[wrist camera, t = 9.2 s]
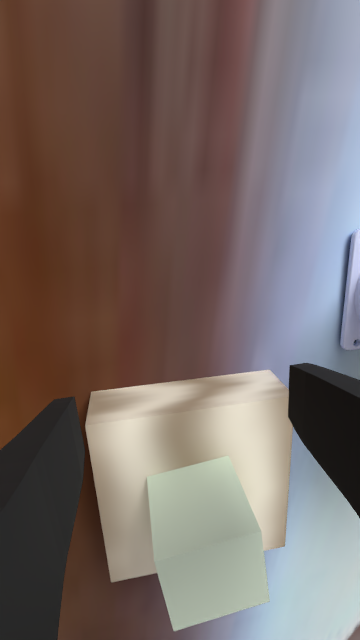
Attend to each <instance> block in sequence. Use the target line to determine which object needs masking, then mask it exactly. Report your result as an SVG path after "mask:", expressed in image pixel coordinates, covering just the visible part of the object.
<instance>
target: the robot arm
mask: <svg viewBox="0 0 360 640" xmlns="http://www.w3.org/2000/svg"><path fill="white" fill-rule="evenodd" d="M355 340H357V341H356V343H355V344H353V343H354V341H355ZM340 345H341V347H342V348H344V349H346V350H355V349H360V229H358V230H356V231H354V233H353V234H352V237H351V246H350V255H349V264H348V274H347V283H346V293H345V302H344V312H343V321H342V331H341V340H340ZM288 418H289V420H290V421H291V423H292V425H293V427H294V429H295V430H296V432H297V434H298V435H299V437H300V439H301V441H302V442H303V443H304V445H305V446H306V447H307V449H308V450H309V451H310V453H311V454H312V455H313V457H314V458H315V459H316V461H317V462H318V463H319V464H320V466H321V467H322V468H323V470H324V471H325V472H326V473H327V475H328V476H329V477H330V479H331V480H332V481H333V482H334V484H335V485H336V486H337V488H338V489H339V490H340V491H341V493H342V494H343V495H344V497H345V498H346V499H347V501H348V502H349V503H350V505H351V506H352V508H353V509H354V510H355V512H356V513H357V515H358V516H359V518H360V380H358V379H355V378H352V377H349V376H346V375H343V374H341V373H338V372H335V371H332V370H329V369H326V368H323V367H320V366H317V365H313V364H309V363H303V364H296V365H290V373H289V400H288ZM84 459H85V448H84V442H83V437H82V432H81V427H80V422H79V417H78V412H77V407H76V402H75V397H68V398H61V399H54V400H53V401H52V402H51V403H50V404H49V405H48V406H47V407H46V408H45V409H44V410H43V411H42V412H41V413H39V414H38V415H37V416H36V417H35V418H34V419H33V420H32V421H31V422H30V423H29V424H28V425H27V426H26V427H25V428H24V429H23V430H22V431H21V432H20V433H19V434H18V435H17V436H16V437H15V438H14V439H12V440H11V441H10V442H9V443H8V444H7V445H6V446H4V447H3V448H2V449H1V450H0V640H57V637H58V627H59V617H60V608H61V599H62V590H63V581H64V573H65V567H66V561H67V555H68V550H69V545H70V541H71V536H72V531H73V526H74V521H75V517H76V512H77V507H78V502H79V497H80V492H81V487H82V482H83V472H84Z"/></svg>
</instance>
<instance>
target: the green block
mask: <svg viewBox="0 0 360 640" xmlns="http://www.w3.org/2000/svg"><path fill="white" fill-rule="evenodd" d="M147 485H148V496H149V508H150V519H151V531H152V542H153V553H154V563H155V566H156V570H157V573H158V577H159V581H160V584H161V588H162V591H163V595H164V598H165V602H166V605H167V609H168V613H169V616H170V620H171V623H172V627H173V630H174V631H177V630H180V629H183V628H186V627H189V626H193V625H196V624H199V623H202V622H205V621H209V620H212V619H215V618H218V617H222V616H225V615H228V614H231V613H234V612H238V611H241V610H244V609H247V608H250V607H254V606H257V605H260V604H263V603H266V602H270V600H269V592H268V583H267V575H266V567H265V558H264V550H263V542H262V533H261V529H260V527H259V525H258V522H257V520H256V518H255V515H254V513H253V511H252V508H251V506H250V504H249V502H248V499H247V497H246V495H245V492H244V490H243V488H242V485H241V483H240V481H239V479H238V476H237V474H236V472H235V469H234V467H233V465H232V462H231V460H230V458H229V455H228V456H224V457H221V458H217V459H213V460H209V461H205V462H202V463H198V464H194V465H190V466H186V467H182V468H179V469H175V470H171V471H167V472H163V473H160V474H156V475H152V476H148V477H147Z"/></svg>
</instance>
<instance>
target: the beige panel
mask: <svg viewBox="0 0 360 640" xmlns="http://www.w3.org/2000/svg"><path fill="white" fill-rule="evenodd" d="M288 400H289V390H288V389H287V388H286V387H285V385H284V384H283V383H282V382H281V381H280V380H279V379H278V378H277V377H276V376H275V375H274V374H273V373H272V372H271V371H270V370H263V371H255V372H247V373H239V374H231V375H223V376H215V377H207V378H199V379H191V380H183V381H175V382H167V383H159V384H151V385H142V386H134V387H126V388H118V389H110V390H102V391H94V392H91V396H90V402H89V407H88V413H87V418H86V424H85V427H86V433H87V440H88V446H89V452H90V458H91V464H92V470H93V476H94V482H95V488H96V494H97V500H98V506H99V512H100V518H101V524H102V530H103V536H104V542H105V548H106V554H107V561H108V567H109V573H110V579H111V582H116V581H121V580H125V579H130V578H135V577H140V576H145V575H150V574H154V573H157V570H156V566H155V563H154V553H153V542H152V531H151V519H150V508H149V496H148V485H147V477H148V476H152V475H156V474H160V473H163V472H167V471H171V470H175V469H179V468H182V467H186V466H190V465H194V464H198V463H202V462H205V461H209V460H213V459H217V458H221V457H224V456H228V455H229V458H230V460H231V462H232V465H233V467H234V469H235V472H236V474H237V476H238V479H239V481H240V483H241V485H242V488H243V490H244V492H245V495H246V497H247V499H248V502H249V504H250V506H251V508H252V511H253V513H254V515H255V518H256V520H257V522H258V525H259V527H260V529H261V533H262V542H263V550H264V551H265V550H270V549H275V548H279V547H284V546H285V536H286V521H287V506H288V491H289V476H290V461H291V445H292V430H293V425H292V423H291V421H290V420H289V418H288Z"/></svg>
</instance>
